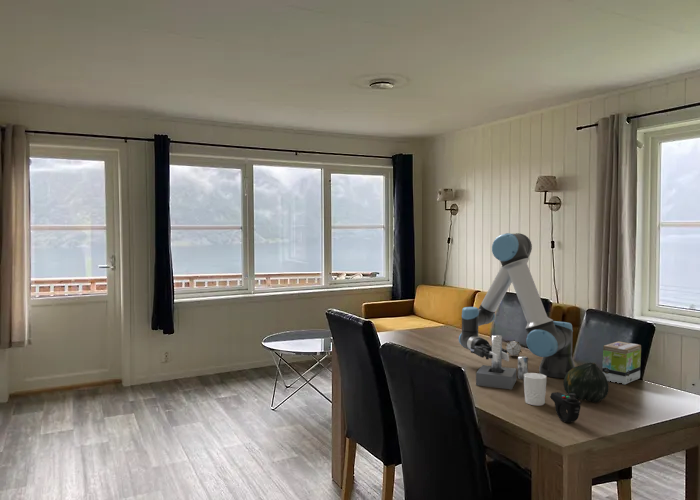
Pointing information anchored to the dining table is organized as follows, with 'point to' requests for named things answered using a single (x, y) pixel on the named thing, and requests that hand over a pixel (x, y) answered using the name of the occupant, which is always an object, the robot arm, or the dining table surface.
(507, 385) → the charcoal collar block
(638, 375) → the tea box
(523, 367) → the short steel pin
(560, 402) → the controller
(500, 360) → the long steel pin
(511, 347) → the game die
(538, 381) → the white cup
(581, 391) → the squash
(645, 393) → the dining table surface
